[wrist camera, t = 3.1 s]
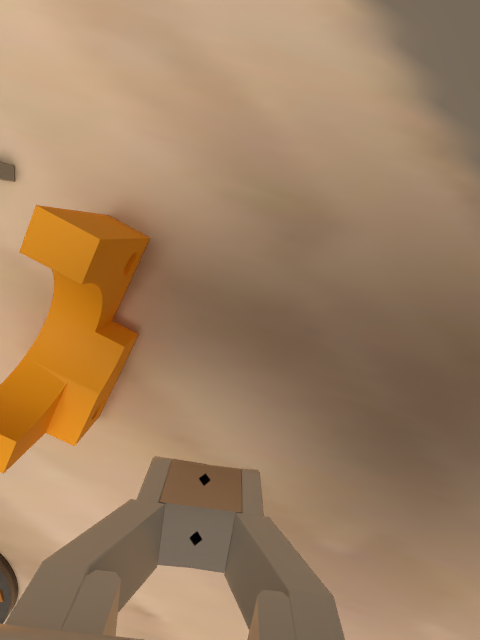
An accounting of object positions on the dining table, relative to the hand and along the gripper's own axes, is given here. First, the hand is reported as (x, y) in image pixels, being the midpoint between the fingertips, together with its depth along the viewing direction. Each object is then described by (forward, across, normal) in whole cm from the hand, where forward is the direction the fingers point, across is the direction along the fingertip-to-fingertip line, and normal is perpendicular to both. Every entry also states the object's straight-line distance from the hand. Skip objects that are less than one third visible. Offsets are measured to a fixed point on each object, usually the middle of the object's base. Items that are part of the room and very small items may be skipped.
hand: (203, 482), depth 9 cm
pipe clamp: (+12, +7, 0) cm, 14 cm away
